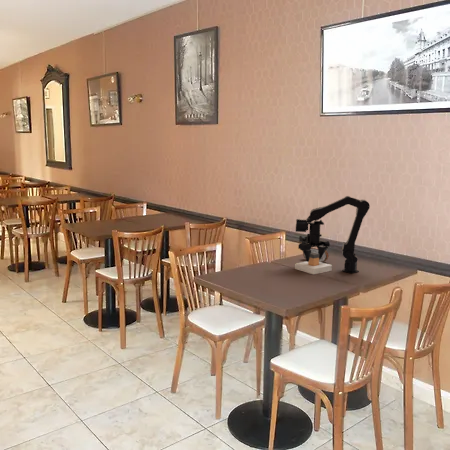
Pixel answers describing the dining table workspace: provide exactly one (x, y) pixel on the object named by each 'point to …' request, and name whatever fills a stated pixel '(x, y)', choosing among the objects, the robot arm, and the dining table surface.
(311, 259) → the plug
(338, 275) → the dining table surface
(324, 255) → the tin
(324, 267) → the socket block
